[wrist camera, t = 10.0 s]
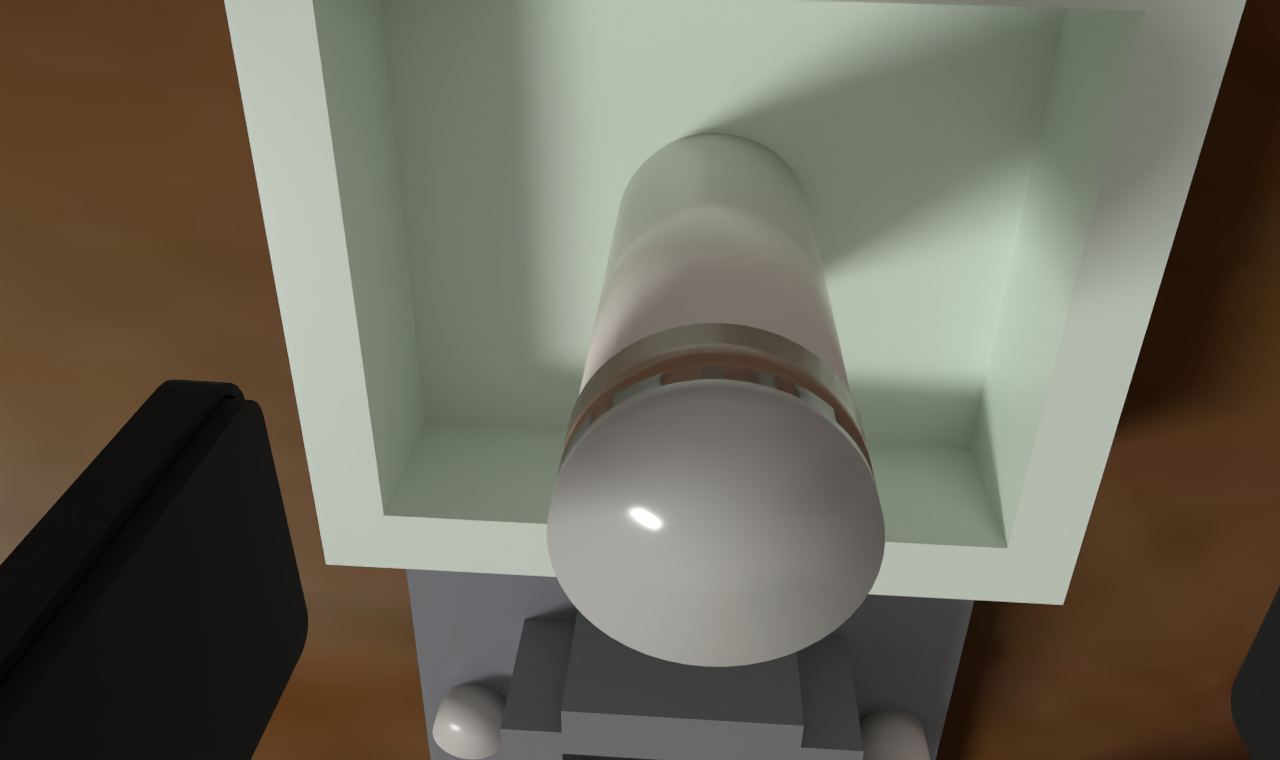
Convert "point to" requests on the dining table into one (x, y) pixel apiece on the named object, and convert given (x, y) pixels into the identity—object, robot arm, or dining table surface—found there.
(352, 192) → the parts tray
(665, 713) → the block
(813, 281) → the cylinder
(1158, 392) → the dining table surface
